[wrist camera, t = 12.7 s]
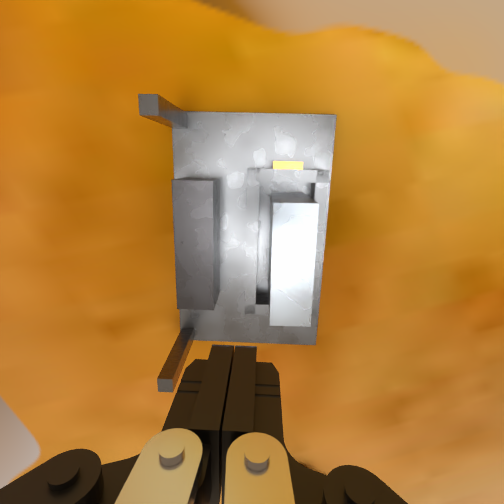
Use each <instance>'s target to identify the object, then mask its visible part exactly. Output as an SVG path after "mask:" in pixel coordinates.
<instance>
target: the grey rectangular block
mask: <svg viewBox="0 0 504 504" xmlns="http://www.w3.org/2000/svg"><path fill="white" fill-rule="evenodd" d="M318 211H319V203H318V202H316V201H315V200H314V199H312V198H311V197H309V196H308V195H307V194H305V193H304V192H270V228H269V266H268V297H269V322H270V326H303V327H311V314H312V299H313V284H314V270H315V255H316V241H317V226H318Z"/></svg>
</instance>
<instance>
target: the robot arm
mask: <svg viewBox="0 0 504 504" xmlns="http://www.w3.org/2000/svg"><path fill="white" fill-rule="evenodd" d="M256 352H257V347H255V346H235V352H234V346H232V345H212V348H211V351H210V355H209V358H208V360H201V359H195V360H194V361H193V362H192V363H191V364H190V365H189V366H188V367H187V368H186V369H185V372H184V374H183V377H182V379H181V383H180V385H179V387H178V390H177V393H176V395H175V398H174V400H173V403H172V405H171V408H170V411H169V413H168V416H167V418H166V421H165V424H164V426H163V429H162V431H161V432H160V433H158V434H157V435H155V436H154V437H152V438H151V439H150V440H149V441H148V442H147V443H146V445H145V446H144V448H143V449H142V451H141V453H140V454H138V455H136V456H134V457H131V458H128V459H125V460H120V461H116V462H112V463H108V464H104V465H101V461H100V458H99V456H98V455H97V454H96V453H95V452H93V451H91V450H87V449H74V450H69V451H66V452H63V453H61V454H58V455H57V456H55V457H53V458H51V459H49V460H48V461H46V462H44V463H43V464H41V465H40V466H38V467H36V468H35V469H33V470H31V471H30V472H28V473H26V474H25V475H23V476H21V477H20V478H18V479H16V480H15V481H13V482H11V483H10V484H8V485H6V486H5V487H3V488H1V489H0V504H219V502H220V494H221V487H222V504H408V503H407V502H405V501H404V500H403V499H402V498H401V497H400V496H399V495H397V494H396V493H395V492H394V491H393V490H392V489H391V488H390V487H388V486H387V485H386V484H385V483H384V482H383V481H382V480H380V479H379V478H378V477H377V476H376V475H374V474H373V473H371V472H370V471H368V470H366V469H363V468H361V467H358V466H352V465H344V466H339V467H337V468H335V469H333V470H332V471H331V472H330V473H329V474H328V475H327V476H326V475H324V474H321V473H318V472H316V471H313V470H311V469H308V468H306V467H304V466H303V465H301V464H300V463H298V462H297V461H296V460H295V459H294V458H293V457H292V456H291V455H290V453H289V452H288V450H287V448H286V446H285V443H284V438H283V425H282V410H281V398H280V381H279V373H278V371H277V370H276V368H275V367H274V365H273V364H272V363H266V362H256Z"/></svg>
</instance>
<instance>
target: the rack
mask: <svg viewBox="0 0 504 504" xmlns="http://www.w3.org/2000/svg"><path fill="white" fill-rule="evenodd" d="M138 98H139V113H140V116H143V117H146V118H148V119H151V120H153V121H156V122H159V123H161V124H164V125H166V126H169V127H172V137H173V161H174V179H173V180H172V198H173V221H174V244H175V267H176V290H177V309H180V333H179V335H178V337H177V339H176V341H175V344H174V346H173V348H172V350H171V352H170V354H169V356H168V358H167V360H166V362H165V364H164V366H163V368H162V370H161V372H160V374H159V376H158V378H157V383H158V392H173V391H174V389H175V386H176V383H177V381H178V378H179V376H180V373H181V371H182V368H183V366H184V363H185V361H186V358H187V355H188V353H189V350H190V348H191V345H192V343H193V340H203V341H228V342H252V343H277V344H301V345H316V336H317V325H318V314H319V303H320V292H321V281H322V270H323V259H324V248H325V237H326V226H327V215H328V204H329V193H330V182H331V171H332V160H333V149H334V138H335V127H336V116H337V115H328V114H283V113H238V112H193V111H183V110H181V109H180V108H178V107H176V106H175V105H173V104H172V103H170V102H169V101H167V100H166V99H164V98H163V97H161V96H160V95H158V94H138ZM270 192H304V193H305V194H307V195H308V196H309V197H311V198H312V199H314V200H315V201H316V202H318V203H319V211H318V226H317V241H316V255H315V270H314V284H313V299H312V314H311V327H303V326H270V322H269V297H268V266H269V228H270Z"/></svg>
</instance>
